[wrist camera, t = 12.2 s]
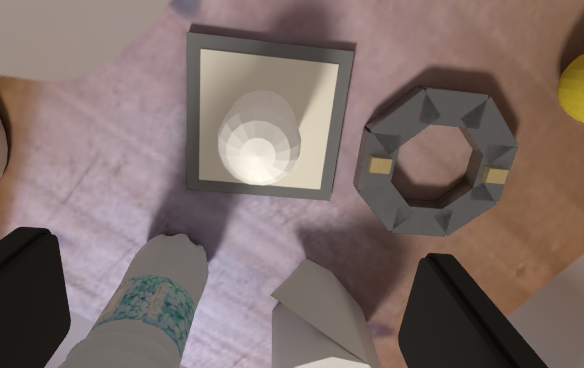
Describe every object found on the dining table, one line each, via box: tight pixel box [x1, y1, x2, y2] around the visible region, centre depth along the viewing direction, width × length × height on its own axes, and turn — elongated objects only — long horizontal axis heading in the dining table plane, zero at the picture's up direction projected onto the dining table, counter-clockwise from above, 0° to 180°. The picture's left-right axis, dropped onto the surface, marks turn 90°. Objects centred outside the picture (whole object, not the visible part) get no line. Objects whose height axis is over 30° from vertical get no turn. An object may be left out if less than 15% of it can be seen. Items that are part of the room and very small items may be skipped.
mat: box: [187, 32, 354, 201], centre depth 28 cm, size 12×12×1 cm
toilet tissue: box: [271, 259, 381, 368], centre depth 31 cm, size 9×13×9 cm
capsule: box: [218, 90, 301, 186], centre depth 24 cm, size 5×5×8 cm
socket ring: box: [353, 86, 518, 237], centre depth 29 cm, size 12×12×2 cm
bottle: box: [58, 233, 208, 368], centre depth 23 cm, size 7×7×20 cm
